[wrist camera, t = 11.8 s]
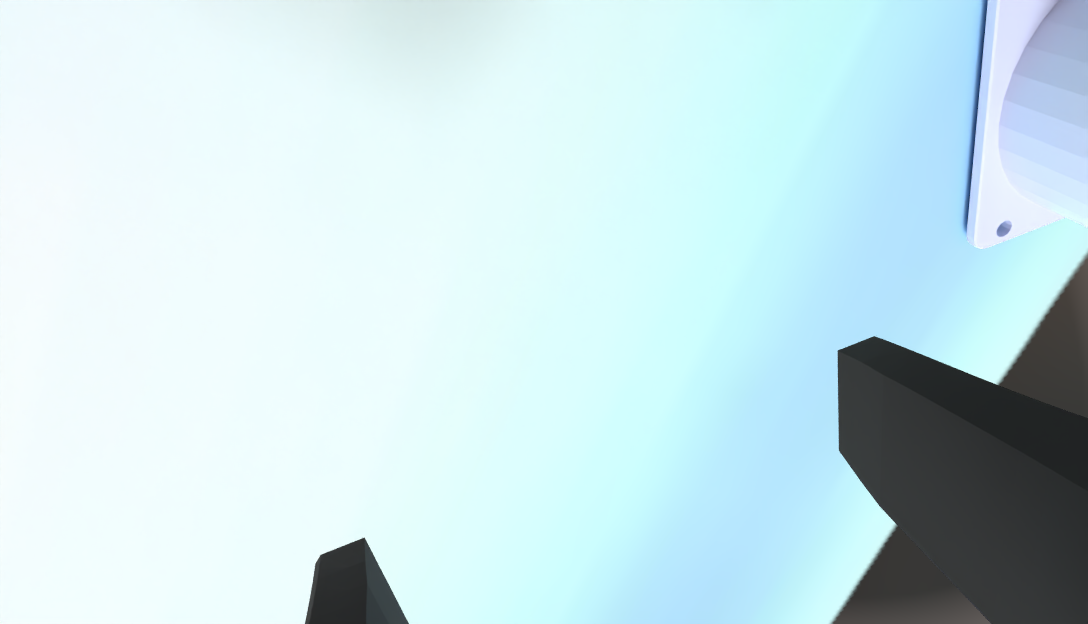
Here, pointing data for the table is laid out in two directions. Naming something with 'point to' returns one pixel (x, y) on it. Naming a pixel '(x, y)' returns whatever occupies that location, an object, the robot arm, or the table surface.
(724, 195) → the table surface
